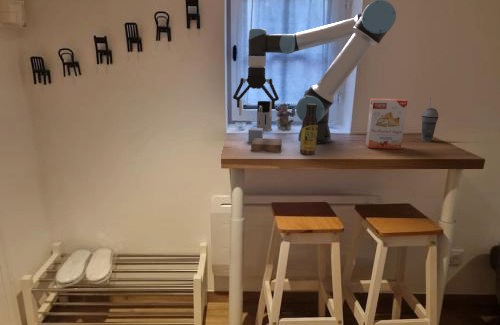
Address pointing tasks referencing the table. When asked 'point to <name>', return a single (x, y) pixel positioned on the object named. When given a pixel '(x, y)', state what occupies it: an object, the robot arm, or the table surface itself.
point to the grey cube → (254, 134)
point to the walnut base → (266, 145)
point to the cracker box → (386, 123)
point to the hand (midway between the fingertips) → (255, 115)
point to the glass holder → (264, 116)
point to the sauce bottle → (309, 131)
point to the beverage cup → (428, 123)
